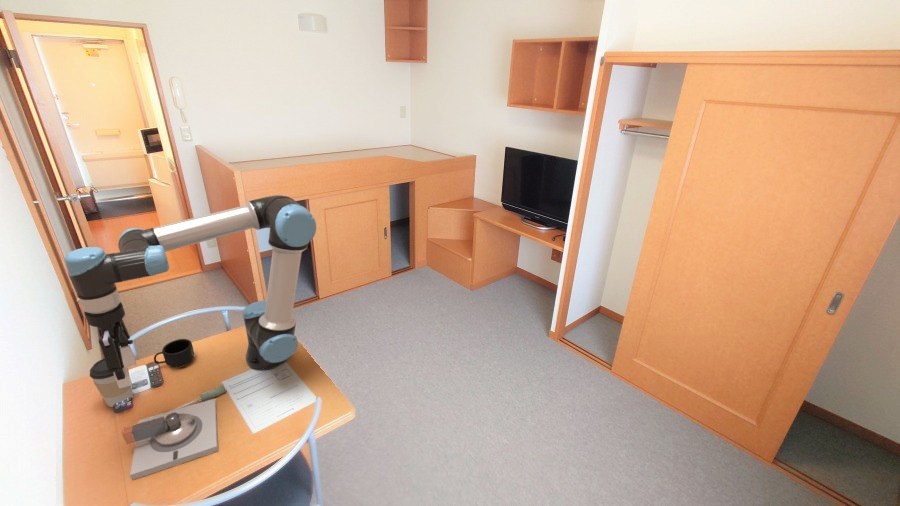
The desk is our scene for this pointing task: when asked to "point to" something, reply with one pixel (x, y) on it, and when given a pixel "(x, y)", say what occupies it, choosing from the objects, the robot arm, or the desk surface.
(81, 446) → the desk surface
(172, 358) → the mug
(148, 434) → the dial
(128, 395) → the coffee cup
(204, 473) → the desk surface
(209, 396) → the screwdriver
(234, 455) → the desk surface
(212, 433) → the plate
